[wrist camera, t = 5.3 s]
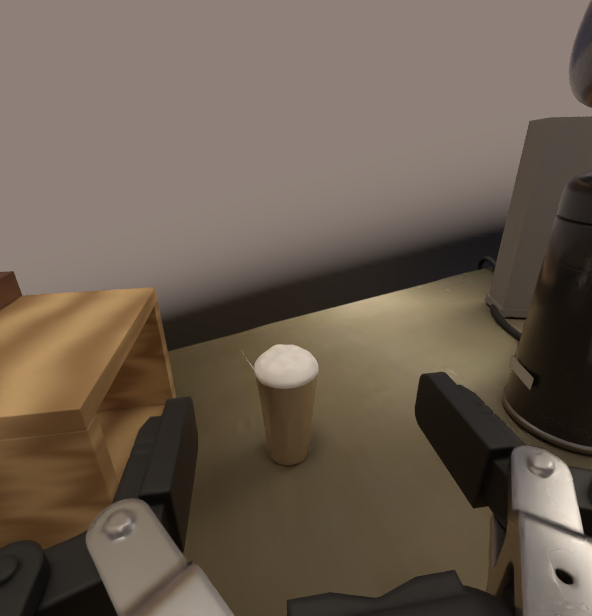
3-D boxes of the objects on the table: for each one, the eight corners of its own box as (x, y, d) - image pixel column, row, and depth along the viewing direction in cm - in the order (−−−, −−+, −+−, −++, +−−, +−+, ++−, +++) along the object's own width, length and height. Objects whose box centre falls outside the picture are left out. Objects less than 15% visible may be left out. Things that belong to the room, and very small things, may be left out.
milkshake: (246, 438, 29) (235, 334, 25) (306, 424, 31) (305, 323, 27) (257, 483, 25) (247, 368, 21) (325, 464, 27) (328, 353, 23)
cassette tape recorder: (580, 305, 53) (647, 118, 43) (607, 323, 47) (691, 114, 37) (484, 301, 55) (525, 121, 44) (499, 318, 49) (549, 117, 39)
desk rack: (177, 403, 34) (150, 263, 28) (136, 573, 20) (66, 370, 14) (54, 416, 32) (-1, 271, 26) (-80, 609, 19) (-255, 399, 13)
